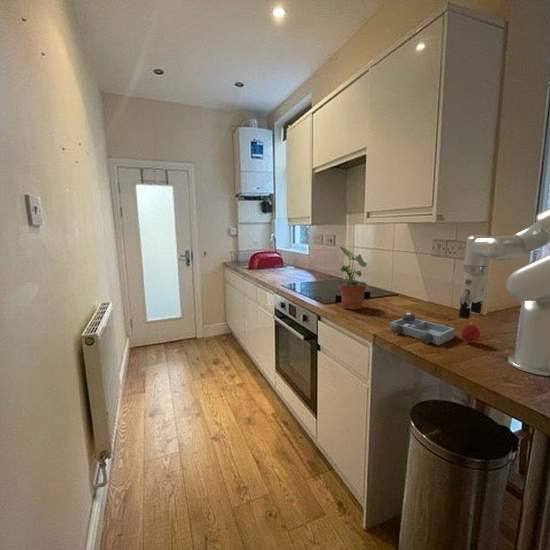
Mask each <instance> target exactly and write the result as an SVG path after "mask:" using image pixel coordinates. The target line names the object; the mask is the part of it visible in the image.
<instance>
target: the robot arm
mask: <svg viewBox="0 0 550 550" xmlns="http://www.w3.org/2000/svg"><path fill="white" fill-rule="evenodd" d="M548 244H550V206H549V207H548V208H546V209H544V210H541V211H540V212H538V213H537V214H536V216H535V222H534V223H533V224H532V225H531V226H529V227H526V228H525V229H523V230H521V231H519V232H517V233H515V234H512V235H500V236H498V235H497V236H490V235H485V234H471V235H469V236H468V237H467V238H466V245H465V253H464V262H463V270H462V273H463V274H464V276H463V280H462V284H461V293H460V297H459V299H460V301H459V313H458V315H459V316H458V317H459V318H462V319H466V320H468V319H470V317H471V316H470V315H471V313H474V314H481V313H482V306H483V305H482V304H483V300H485V299H486V295H487V285H488V284H487V283H488V282H487V281H488V278H487V277H488V275H489V269H490V262H491V259H492V260H504V259H513V258H514V259H515V258H519V257H521V256H524V255H526V254H530V253H531V252H533V251H536V250H538V249H540V248H542V247H544V246H546V245H548ZM505 284H506V290H507V293H509V295H511V297H513V298H515V299H516V300H519V301H522V302H521V305H520V306H521V307H520V312H519V319H518V326H517V332H516V333H517V335H516V343H515V350H514V354H512V355H509V356H508V359H507V362H508V363H509V365H511V366H512V367H514V368H516V369H518V370H521V371H524V372H527V373H529V374H534V375H539V376H545V377H549V376H550V254H548V255H546V256H543V257H541V258H540V259H537V260H535V261H532V262H531V263H528V264H527V265H524V266H522V267H520V268H518V269H516V270H515V271H513V272H512V273H511V274H510V275H509V276H508V278H507V280H506V283H505Z"/></svg>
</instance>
